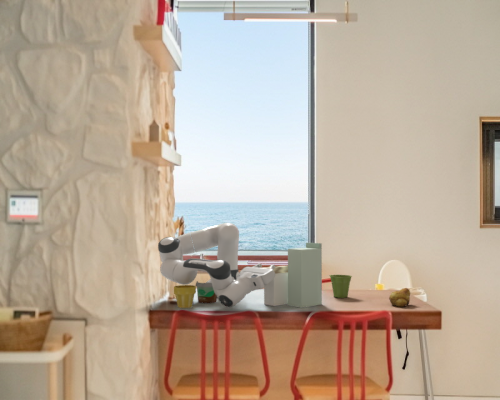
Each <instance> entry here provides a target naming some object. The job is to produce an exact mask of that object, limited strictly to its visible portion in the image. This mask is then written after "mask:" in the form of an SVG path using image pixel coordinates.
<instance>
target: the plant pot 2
mask: <svg viewBox="0 0 500 400" xmlns="http://www.w3.org/2000/svg"><path fill="white" fill-rule="evenodd" d="M329 277H330V281H331V287H332V295H333V297H334V298H337V299H341V298H342V299H344V298H348V297H349V290H350V283H351V281H352V280H351V279H352V277H353V276H352V275H349V274H330V275H329Z"/></svg>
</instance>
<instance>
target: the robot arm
mask: <svg viewBox="0 0 500 400" xmlns="http://www.w3.org/2000/svg"><path fill="white" fill-rule="evenodd" d="M239 240H240V231H239V228H238V227H237V225H235V224H233V223H231V222H223V223H220V224H216V225H213V226H209V227H206V228H202V229H199V230H194V231H190V232H187V233H184V234H181V235H179V236H177V237H172V236H166V237H164V238H162V239H161V240H160V241H158V245H157V250H158V252H159V257H160V261H161V265H160V268H159V270H160V271H159V273H160V274H161V276H162V277H164V278H165V279H166V280H169V281H171V282H174V283H177V284H179V285H191V283H193V282H194V280H196V278H197V276H198V272H203V273H204V272H205V273H207V275H208V276H209V277H210V279H209V280H207V281H206V282H205V283H212V286H213V290H214V293H215V294H216V295H217V298H218V301H219V302H220V304H221V305H223V306H224V307H226V308H231V307H234V306H235V305H237V304H239V303H240V302H241V301H242V300H244V298H245V297H246V295H248V294H250V293H252V292H254V291H258V290H264V287H265V286H264V285H266V284H268V283H269V282H270V281H271V280H272V279H273V278H274V277H275V272H274V270H273V269H274V268H275V264H271V265H269V267H270V268H269V269H266V268H264V267H263V265H262V263H260V262H259V263H257V264H256V265H253V266H245V267H243V268H242V269H241V270H240V272H239V265H238V264H239V260H238V259H239V257H238V256H239V254H238V253H239V244H240V243H239V242H240V241H239ZM216 247H217V253H216V255H217V256H216V257H217V259H214V260H213V259H204V258H188V259H186V260H185V261H184V255H190V254H195V253H199V252H202V251H206V250H210V249H212V248H216Z"/></svg>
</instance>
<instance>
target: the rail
mask: <svg viewBox="0 0 500 400" xmlns="http://www.w3.org/2000/svg"><path fill="white" fill-rule="evenodd" d="M263 268H266V269H269V268H270V266H267V267H263ZM273 270H274V272H275V274H276V273H286V272H288V264H286V265H279V266H275V268H274V269H273Z"/></svg>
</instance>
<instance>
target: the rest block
mask: <svg viewBox="0 0 500 400" xmlns="http://www.w3.org/2000/svg"><path fill="white" fill-rule="evenodd" d="M264 286H265V287H264V288H263V291H264V292H263V295H264V296H263V304H264V305H265V306H266V305H267V306H271V307H277V306H278V307H279V306H283V305H288V272H286V273H276V274H275V277H274V278H273V279H272V280H271V281H270V282H269V283H268V284H266V285H264Z"/></svg>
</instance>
